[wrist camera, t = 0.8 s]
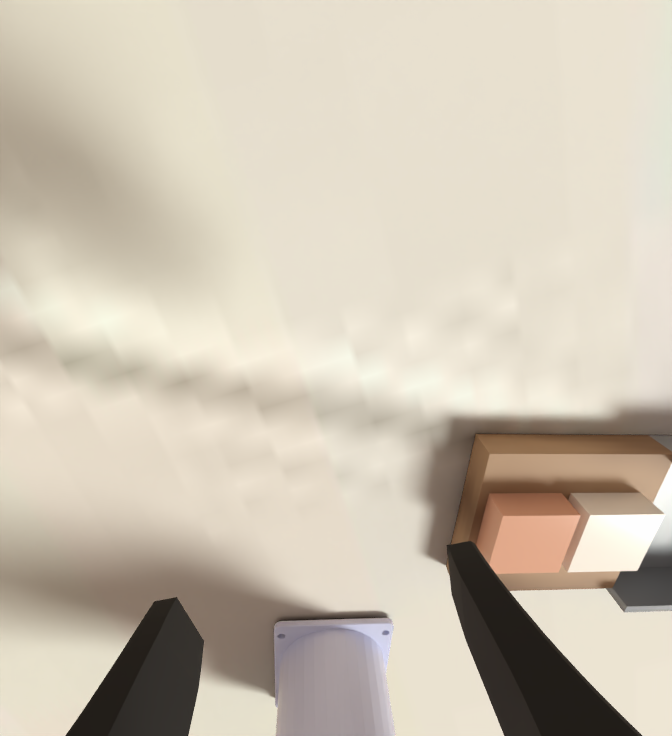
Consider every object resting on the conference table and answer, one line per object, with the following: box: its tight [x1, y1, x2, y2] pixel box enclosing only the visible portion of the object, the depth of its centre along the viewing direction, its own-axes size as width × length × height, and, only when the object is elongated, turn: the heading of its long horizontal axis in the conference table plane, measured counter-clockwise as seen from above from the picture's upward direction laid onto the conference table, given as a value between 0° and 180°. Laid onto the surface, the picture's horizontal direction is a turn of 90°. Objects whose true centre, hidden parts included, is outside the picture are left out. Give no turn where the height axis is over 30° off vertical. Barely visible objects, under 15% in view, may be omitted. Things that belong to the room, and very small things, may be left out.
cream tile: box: [562, 493, 665, 572], centre depth 21 cm, size 4×4×2 cm
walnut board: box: [446, 434, 672, 591], centre depth 23 cm, size 10×10×2 cm
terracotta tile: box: [476, 493, 581, 574], centre depth 21 cm, size 4×4×2 cm
